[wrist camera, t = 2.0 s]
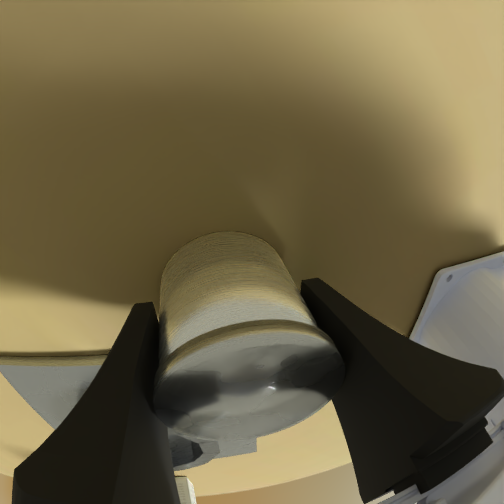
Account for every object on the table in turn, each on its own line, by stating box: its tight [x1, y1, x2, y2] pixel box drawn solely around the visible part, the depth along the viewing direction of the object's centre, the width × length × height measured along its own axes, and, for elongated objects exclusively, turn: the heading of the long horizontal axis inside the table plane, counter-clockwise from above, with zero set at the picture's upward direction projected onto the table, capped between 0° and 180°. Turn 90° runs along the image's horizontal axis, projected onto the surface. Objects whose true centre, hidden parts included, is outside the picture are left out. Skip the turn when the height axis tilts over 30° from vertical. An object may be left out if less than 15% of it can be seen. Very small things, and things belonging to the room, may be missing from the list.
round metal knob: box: [154, 231, 345, 441], centre depth 9 cm, size 5×5×5 cm
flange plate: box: [0, 355, 257, 471], centre depth 14 cm, size 14×14×2 cm
